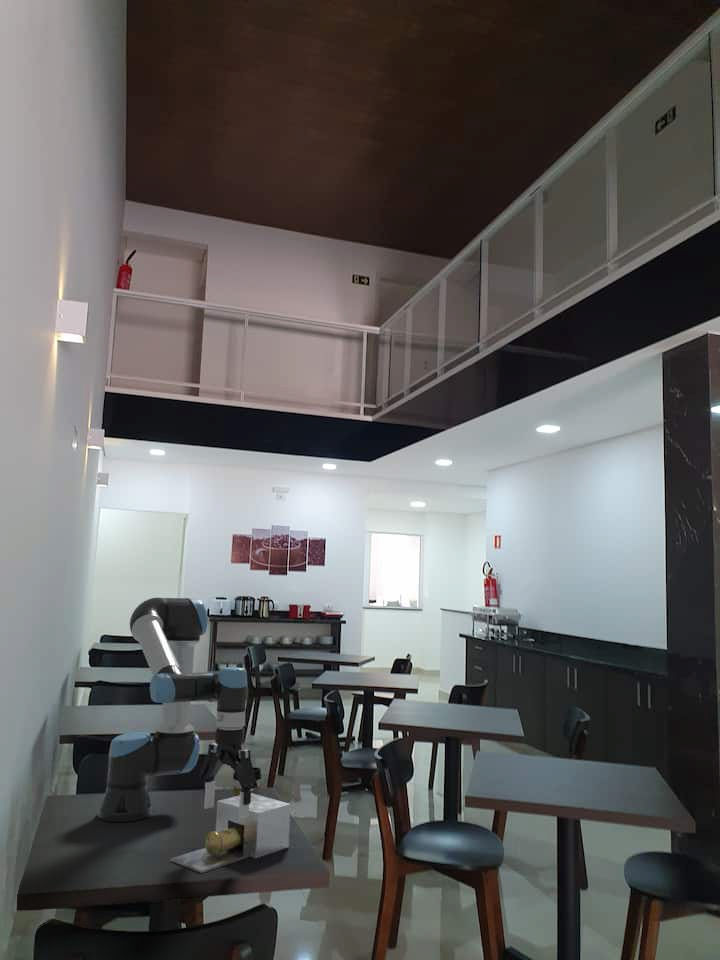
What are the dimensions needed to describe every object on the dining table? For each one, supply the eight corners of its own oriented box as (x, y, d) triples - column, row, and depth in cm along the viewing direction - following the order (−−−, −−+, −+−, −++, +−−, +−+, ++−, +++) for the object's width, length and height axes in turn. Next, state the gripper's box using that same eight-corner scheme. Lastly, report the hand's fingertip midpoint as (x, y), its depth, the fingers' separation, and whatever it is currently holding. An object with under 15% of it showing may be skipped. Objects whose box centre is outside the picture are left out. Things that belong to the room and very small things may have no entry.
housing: (165, 859, 186) (168, 813, 188) (248, 833, 208) (250, 792, 210) (206, 875, 176) (209, 826, 178) (288, 847, 198) (290, 804, 200)
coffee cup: (253, 827, 214) (256, 773, 216) (226, 824, 216) (229, 770, 218) (263, 818, 222) (265, 766, 224) (236, 816, 224) (239, 764, 226)
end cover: (204, 853, 190) (206, 829, 190) (244, 840, 200) (245, 818, 201) (218, 858, 186) (220, 834, 187) (259, 845, 197) (260, 823, 197)
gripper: (189, 723, 200) (184, 806, 197) (252, 735, 185) (248, 825, 181) (210, 720, 206) (206, 801, 203) (273, 731, 191) (270, 818, 187)
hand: (226, 812), depth 192 cm, fingers open, 13 cm apart
